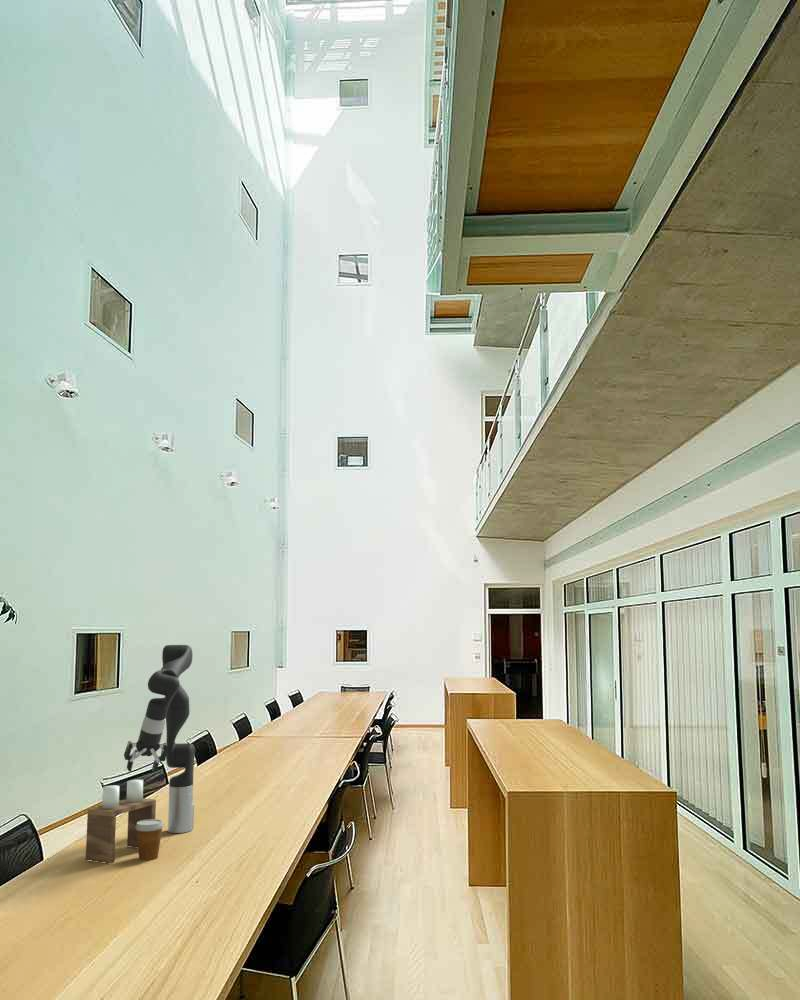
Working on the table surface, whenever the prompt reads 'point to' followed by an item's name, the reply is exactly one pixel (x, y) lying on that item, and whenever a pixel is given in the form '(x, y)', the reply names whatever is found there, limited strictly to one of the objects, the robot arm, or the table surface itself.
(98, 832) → the wooden bench stand
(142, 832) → the disposable coffee cup
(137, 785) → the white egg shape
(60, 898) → the table surface
